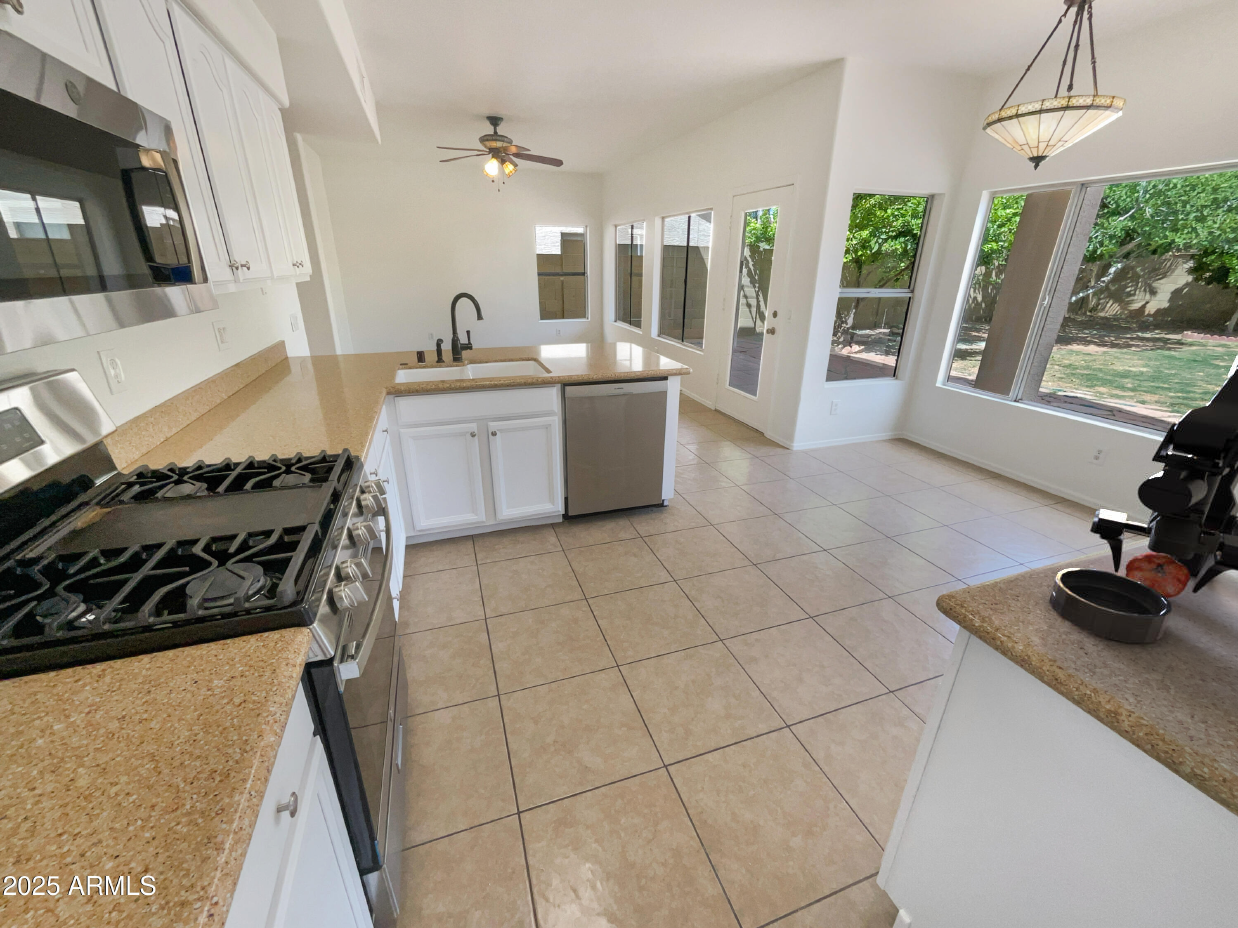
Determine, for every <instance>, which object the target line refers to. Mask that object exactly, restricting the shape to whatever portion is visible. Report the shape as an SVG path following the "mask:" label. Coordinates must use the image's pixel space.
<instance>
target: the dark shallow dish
mask: <svg viewBox="0 0 1238 928" xmlns="http://www.w3.org/2000/svg"><path fill="white" fill-rule="evenodd" d="M1048 603H1049V604H1050V607H1051V609H1052V610H1053V611H1054V612H1055V613H1056V614H1057V615H1058V616H1059V617H1060V618H1062V619H1064V620H1065V621H1067V622H1068V623H1070V624H1071V625H1073V626H1076V627H1077V628H1080V629H1082V630H1084V631H1085V632H1088V633H1091V634H1094V635H1097V636H1100V637H1103V638H1106V639H1109V640H1115V641H1119V642H1124V643H1133V644H1134V643H1135V644H1146V643H1147V644H1148V643H1153V642H1157V641H1158V640H1159V639H1162V637H1163V636H1164V633H1165V631H1166V629H1167V627H1168V623H1169V620H1170V618H1171V615H1172V613H1173V604H1172V603H1171V602H1170V600H1169V598H1166V597H1165V596H1163V595H1162V594H1161V593H1159V592H1158V591H1156V590H1155V589H1153V588H1151V587H1149V586H1147V585H1145V584H1143V583H1141V582H1139V581H1136V580H1133V579H1130V578H1128V577H1126V575H1122V574H1118V573H1115V572H1111V571H1106V570H1101V569H1095V568H1082V567H1073V568H1066V569H1063V570H1060V571H1059V572H1057V573H1056V576H1055V579H1054V582H1053V586H1052V589H1051V592H1050V597H1049V599H1048Z"/></svg>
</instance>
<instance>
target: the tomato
mask: <svg viewBox="0 0 1238 928" xmlns="http://www.w3.org/2000/svg"><path fill="white" fill-rule="evenodd" d="M1125 577H1128V578H1130V579H1133V580H1136V581H1139V582H1141V583H1143V584H1145V585H1147V586H1149V587H1151V588H1153V589H1155V590H1156V591H1158V592H1159V593H1161V594H1162V595H1163V596H1165V597H1166V598H1167V599H1171V598H1175V597H1177V596H1179V595H1181V594H1182V593H1183V592H1184V591H1186V590H1185V589H1186V588H1187V586H1188V583H1189V582H1190V579H1191V574H1190V572H1189V570H1188V569H1187V568H1186V567H1185V566H1184V565H1183V564H1181V563H1178V562H1177V561H1176V560H1174V559H1173V558H1172V557H1171V556H1169V555H1168V554H1163V553H1155V552H1152V551H1146V552H1144V553H1140V554H1139V555H1135V556H1132V557H1131V558H1130V559H1128V561H1127V562H1126V564H1125Z"/></svg>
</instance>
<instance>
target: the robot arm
mask: <svg viewBox="0 0 1238 928" xmlns="http://www.w3.org/2000/svg"><path fill="white" fill-rule="evenodd" d="M1227 377H1228V378H1227V379H1226V381H1225V382H1224V383H1223V385H1222V386H1221V387H1220V389H1219V390H1217V392H1216V393H1215V394H1214V396H1213V397H1212V398H1211V399H1210V401H1209V402H1208V403H1207V404H1206V405H1203V406H1200V407H1197V408H1192V409H1190V410H1188V411H1187V412H1185V414H1184V415H1183V416H1182V417H1181V418H1180V419H1179V420H1178V421H1177V422H1175V421H1174V422H1173V423H1172V424H1171V425H1170V427H1169V429H1168V431H1167V432H1166V434H1165V436H1164V437H1163V438H1162V441H1161V442H1160V444H1159V446H1158V448H1157V450H1156V451H1155V453H1154V455H1153V456H1152V459H1151V462H1155V463H1161V464H1164V465H1163V468H1162V470H1161V471H1160V472H1159V473H1157V474H1154V475H1153V476H1151V477H1149V478H1147V479H1146V480H1144V481H1143V482H1142V483H1141V484H1140V485H1139V486H1138V489H1137V497H1138V499H1139V501H1140V503H1141V504H1142V505H1143V506H1144V507H1145V508H1147V509H1148V510H1150V511H1151V514H1150V516H1149V519H1148V521H1147V524H1144V523H1139V522H1135V521H1129V520H1127V518H1128V513H1123V512H1119V511H1115V510H1109V509H1103V508H1099V509H1098V510H1096V511H1095V514H1094V517H1093V521H1092V523H1091V527H1090V530H1089V532H1090V533H1093V534H1094V535H1098V538H1099V539H1101V540H1103V541H1106V542H1107V544H1108V546H1109V549H1110V551H1111V556H1112V557H1111V558H1112V563H1113V571H1114V573H1115V574H1118V573H1119V571H1120V568H1121V563H1122V557H1123V547H1124V541H1125V540H1124V539H1125V533H1128V534H1131V535H1137V536H1141V537H1146V538H1149V539H1148V544H1147V549H1148V550H1149V551H1150V552H1155V553H1163V554H1168V555H1169V556H1171V557H1172V558H1173V559H1174V560H1176V561H1177V562H1178V563H1181V564H1183V565H1184V566H1185V567H1186V568H1187V569H1188V570H1189V572H1190V576H1196V579H1195V580H1194V582H1193V585H1192V588H1191V593H1193V594H1197V593H1198V592H1199V591H1201V590H1202V589H1203V588H1204V587H1205V586H1207V584H1209V583H1210V582H1212V580H1214V579H1215V578H1216V577H1218V576H1220V575H1221V574H1223V573H1225V572H1228V571H1237V572H1238V499H1237V497H1236V493H1235V490H1236V488H1237V485H1238V355H1236V357H1235V360H1234V362H1233V364H1232V367H1231V368H1230V371H1229V373H1228V375H1227ZM1170 449H1171V451H1172V452H1168V451H1169V450H1170Z"/></svg>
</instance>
